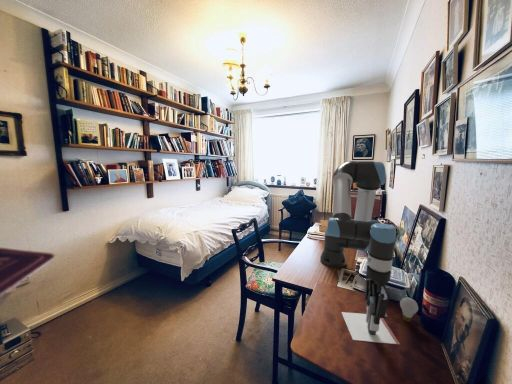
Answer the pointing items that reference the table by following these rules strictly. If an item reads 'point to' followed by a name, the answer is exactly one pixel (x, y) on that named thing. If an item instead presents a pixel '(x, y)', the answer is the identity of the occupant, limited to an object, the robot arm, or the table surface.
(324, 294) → the table surface
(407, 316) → the light bulb
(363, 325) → the notepad
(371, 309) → the marker
